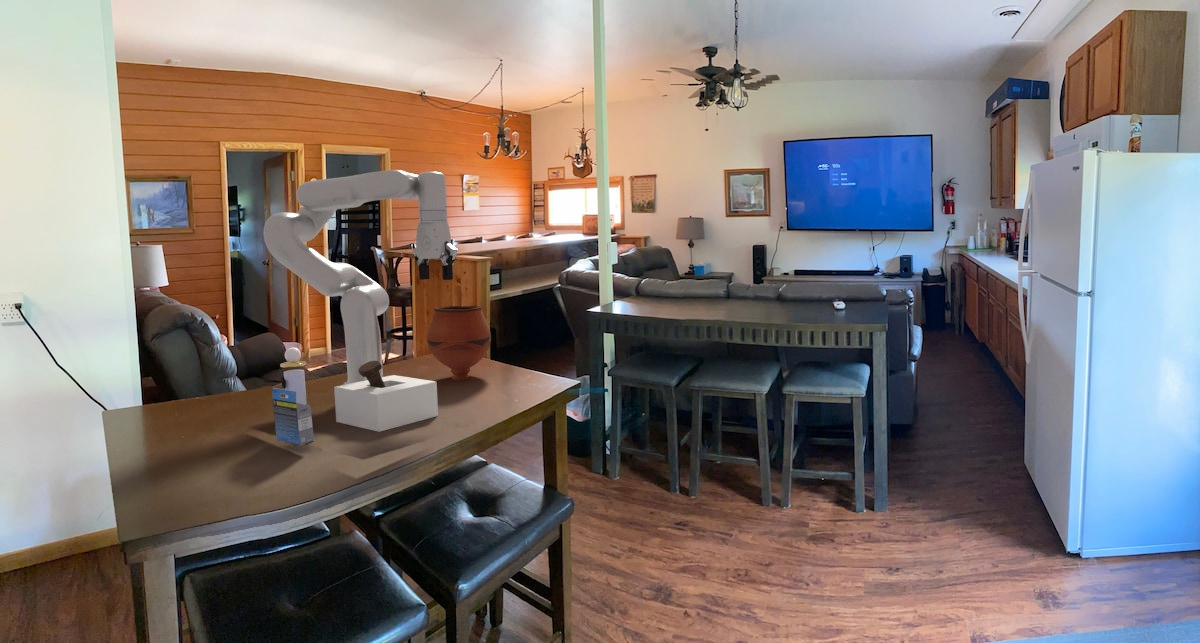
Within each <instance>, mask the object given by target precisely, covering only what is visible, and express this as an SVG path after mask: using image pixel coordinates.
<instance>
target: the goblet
mask: <svg viewBox="0 0 1200 643" xmlns="http://www.w3.org/2000/svg"><path fill="white" fill-rule="evenodd" d="M433 311H434V312H433V316H432V319H431V321H430V324H429V328H428V331H427V337H426V342H427V347H428V350H429V352H430V353H431V355H432V356H433V357H434V358H435V359H436V360H437V361H438V362H440V363H441V364H442V365H444V366H446V367H448V368H450V373H452V377H451V380H454V381H463V380H467V379H468V378H470V376H469V373H470V372H471V368H472V367H474V366H475V365H476V364H478V363H479V362H480V361H481V360H483V358H484V357H485V355H486V354H487V353H488V351H489V349H490V346H491V344H492V335H491V331H490V326H489V324H488V321H487V319H486V317H485V315H484V312H483V310H482V305H466V306H465V305H463V306H462V305H451V306H439V307H434V309H433Z"/></svg>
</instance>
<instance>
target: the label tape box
mask: <svg viewBox="0 0 1200 643" xmlns="http://www.w3.org/2000/svg"><path fill="white" fill-rule="evenodd" d="M281 395H287V396H288V398H285V397H284V396H281ZM306 404H307V403H306ZM306 404H302V403H297V402H296V391H289V390H284V388H282V389H281V388H277V387H272V406H273V417H274V426H275V427H274V430H275V437H276V440H277V441H280V442H285V443H291V444H296V445H304V444H305V445H306V444H308V443H311V442H314V441H315V437H314V427H313V418H312V417H313V416H312V408H311V405H310V404H307V405H306Z"/></svg>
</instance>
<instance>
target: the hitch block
mask: <svg viewBox="0 0 1200 643" xmlns="http://www.w3.org/2000/svg"><path fill="white" fill-rule="evenodd" d="M381 378H382V380H383V382H384V384H385V386H386V387H385V388H377V387H372V386H371V385H370V383H369V381H368V380H366V381H361V382H356V383H351V384H346V385H343V384H341V385H337V386H334V387H333V388H334V405H335V406H334V407H335V421H336V423H339V424H344V425H349V426H353V427H357V428H361V429H365V430H370V431H375V432H377V433H378V432H383V431H386V430H388V431H389V430H391V429H394V428H398V427H402V426H405V425H409V424H413V423H417V422H421V421H424V420H428V419H432V418H434V417H435V418H436V417H438V416H439V410H438V409H439V404H438V402H439V401H438V387H437V386H438V385H437V381H434V380H429V379H428V380H427V379H421V378H414V377H409V376H402V375H395V374H392V375H386V376H383V377H381Z"/></svg>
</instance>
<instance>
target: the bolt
mask: <svg viewBox="0 0 1200 643" xmlns="http://www.w3.org/2000/svg"><path fill="white" fill-rule="evenodd" d="M381 368H382V369H383V365H382V366H381V364H380V363H379V361H369V362H367V363H365V364H363V365H362V366H361V367H360V368H359V370H358V371H359V374H360V375H361V376H363V377H366V378H367V380H368V381H369V383H370V385H371V386H372V387H377V388H385V387H386V386H385V384H384V382H383V380H382V378H381V375H380V372H379V370H380V369H381Z"/></svg>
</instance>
